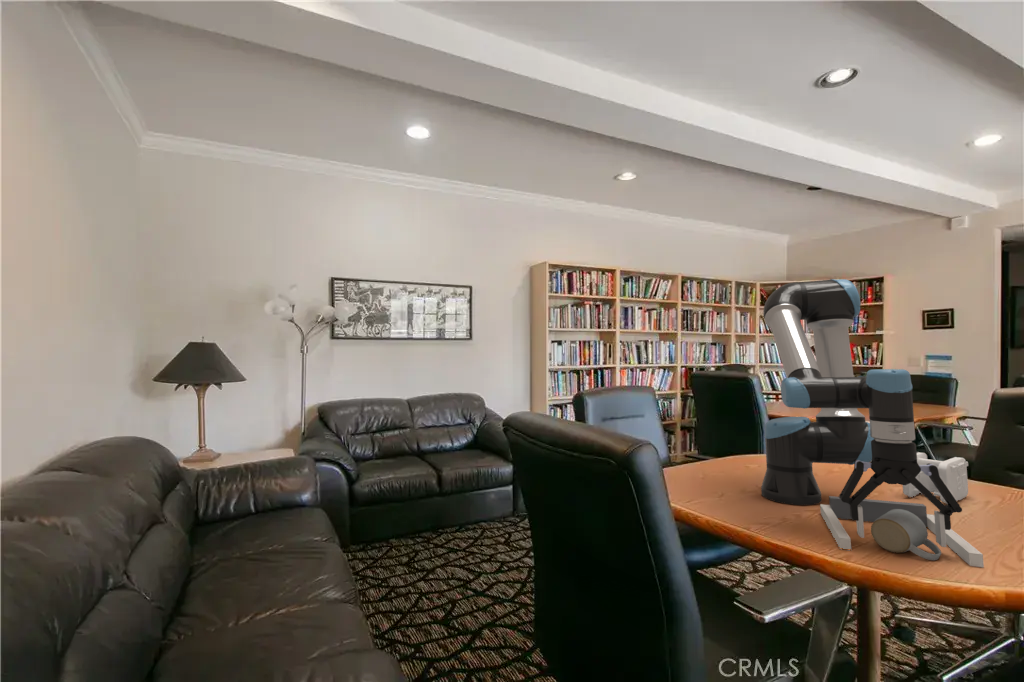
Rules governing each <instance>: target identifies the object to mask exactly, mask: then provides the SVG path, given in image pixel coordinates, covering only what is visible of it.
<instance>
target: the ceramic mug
mask: <svg viewBox="0 0 1024 682" xmlns="http://www.w3.org/2000/svg"><path fill="white" fill-rule="evenodd" d="M870 533H871V536H872V538H873V540H874V541H875V543H876V544H878V546H880V548H883V549H884V550H886V551H887V552H891V553H895V552H896V553H895V554H897V553H898V554H900V553H906V552H908V551H910V552H911V553H913V554H915V555H916V556H918V557H920V558H922V559H925V560H928V561H936V560H939V558H940V557H941V555H942V551H941V549H940V548H939V546H938V545H936V544H935V543H934V542H933V541H932V540H930V538H929V539H928V537H929V536H928V535H929V534H928V528H926V526H925V525H924V523H923V522H922V521H921V520H920V519H919V518H918V517H917V516H916V515H914V514H913V513H911V512H909V511H906V510H903V509H893V510H890V511H889V512H887V513H886V514H884V515H882V516H881V517H879V518H877V519H876V520H875V521H874V522H872V524H871V527H870ZM922 545H924V546H925V547H927V548H928V549H929V550H931V551H932V552H933V553H931V552H927V551H925V550H923V549H921V548H919V547H920V546H922Z"/></svg>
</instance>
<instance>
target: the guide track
mask: <svg viewBox="0 0 1024 682" xmlns="http://www.w3.org/2000/svg"><path fill="white" fill-rule="evenodd" d="M828 502H829V504H822V503H819V504H820V505H819V507H820V515H821V517H822V519H823V521H824V520H825V521H824V522H826V523H825V524H826V526H827V528H828V530H829V529H830V530H829V531H831V532H830V534H831V533H832V534H831V535H832V537H833V539H834V538H835V539H834V540H836V541H835V543H836V542H837V543H836V544H838V545H837V547H838V548H839V547H840V548H843V549H851V550H852V543H851V542H852V540H851V537H850V536H849V534H848V532H847V531H846V529H845V528H844V526H843V524H842V523H841V521H840V520H848V519H852V518H851V516H850V504H848V503H845V502H842V500H841V499H840V498H839V496H834V495H829V496H828ZM860 505H861V507H862V509H863V522H867V521H868V522H867V523H869V521H870V523H873V522H874V521H875V520H876V519H877V518H879V517H881V516H882V515H884V514H886V513H887V512H889V511H890V510H893V509H903V510H906V511H909V512H911V513H913V514H914V515H916V516H917V517H918V518H919V519H920V520H921V521H922V522H923V523H924V525H925V526H926V527H928V528H927V529H929V530H930V531H931V532H932V533H933V534H934V535H935V536H936V530H935V517H934V514H928V512H927V505H925V504H924V503H918V502H917V503H916V502H905V501H904V502H903V501H894V500H893V501H892V500H883V499H881V500H879V499H871V498H870V499H867V498H865V499H864V500H863V501H862V502H861V503H860ZM838 518H841V519H838ZM851 521H854V520H853V519H852V520H851ZM945 535H946V546H947V545H948V546H947V547H949V548H950V550H952V551H953V552H954V553H955V554H956V553H957V554H956V555H957V556H959V558H960V559H962V560H963V561H964V562H965V563H967V565H969V566H970V567H975V568H976V567H977V568H984V566H985V565H984V553H982V552H981V551H979V550H978V549H977V548H976V547H975V546H973V545H972V544H971V543H970V542H968V541H967V540H966V539H965V538H963V537H962V536H961V535H960V534H958V533H957V532H956V531H954V530H953V529H952V528H951V529H950V530H945ZM840 548H839V549H840Z"/></svg>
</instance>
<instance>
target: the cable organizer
mask: <svg viewBox="0 0 1024 682" xmlns="http://www.w3.org/2000/svg"><path fill="white" fill-rule="evenodd" d="M917 463H918V465H927V464H929V463H930V464H932V465H934V466H936V467H937V468H938V472H939V476H940V478H941V479H942V481H943V482H944V484H945V485H946V487H947V488H948V490H949V491H950V492H951V494H952V495H953V497H954V498H955V500H956V501H957V502H959V501H961V500H963V499H964V498H966V497H967V496H968V495H969V494H968V493H969V481H968V470H967V469H968V468H967V467H969V462H968V461H966V459H965V458H964V457H957V456H954V457H951V458H949V459H946V460H936V459H928V455H927V454H926V453H925V452H919V451H917ZM915 478H916V479H917V480H918V481H919V482H920V483H921V484H922V485H923V486H924V487H925V488H927V489H928V490H929V491H930V492H931V493H932V494H933V495H934V496H935V497H937V496H938V497H939V500H940V502H942V503H943V504H944V503H945V504H946V505H948V504H947V502H946V501H945V499H944V498H943V496H942V495H941V494H940V492H939V491H938V489H937V488H936V486H935V485H934V483H933V482H932V480H931V479H930V477H929V476H928V475H926V474H924V472H923V471H920V473H919V474H918V475H917V476H916V477H915ZM902 492H903V493H902V494H903V495H904V496H908V498H910V497H912V498H914V497H916V496H917V495H919V493H921V492H920V491H919V490H918V489H917V488H916V487H914V486H913V485H912V484H911V483H909V484H907V485H902ZM920 495H921V496H922V495H923V494H922V493H921V494H920ZM913 496H914V497H913ZM958 500H959V501H958Z"/></svg>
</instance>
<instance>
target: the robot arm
mask: <svg viewBox="0 0 1024 682" xmlns="http://www.w3.org/2000/svg"><path fill="white" fill-rule="evenodd" d="M860 313H861V298H860V294H859V291H858V289H857V287H856V285H855V284H854V283H853V282H852V281H850V280H848V279H846V278H845V279H844V278H843V279H841V278H840V279H835V278H830V279H823V280H821V279H820V280H809V281H799V282H798V281H795V282H794V281H793V282H789V283H786V284H784V285H782V286H779V287H778V288H776V289H775V290H774V291H773V292H772V293H771V294H770V295H769V296H768V297H767V300H766V301H765V303H764V305H763V313H762V314H763V318H764V322H765V324H766V326H767V327H769V328H770V329H771V332H772V335H773V338H774V342H775V344H776V348H777V351H778V354H779V358H780V361H781V364H782V366H783V370H784V373H785V376H786V377H784V378H783V379H782V380H781V383H780V394H781V399H782V402H783V404H784V405H785V407H787V408H793V409H794V408H797V409H820V411H819V412H818V413H817V414H816V415H815V421H811V420H810V418H809V417H807V416H784V417H777V418H772V419H770V420H768V421H766V422H765V424H764V441H765V442H764V443H765V458H766V459H765V460H766V471H765V474H764V477H763V479H762V483H761V487H760V488H761V491H760V492H761V496H762V497H763V498H766V499H767V500H769V501H773V502H776V503H781V504H787V505H795V506H796V505H797V506H812V505H818V504H821V502H822V501H823V500H822V491H821V489H820V487H819V485H818V482H817V480H816V477H815V476H814V471H813V463H814V464H816V463H817V464H839V465H849V466H853V471H852V472H851V474H850V476H849V477H848V479H847V481H846V482H845V485H844V486H843V488H842V489H841V492H840V494H839V496H838V497H839V498H840V499H841V500H842V502H845V503H848V504H850V516H851V518H852V519H853V520H852V521H855V522H856V533H857V535H858V537H860V538H862V539H863V538H865V528H864V527H865V526H864V521H863V509H862V507H861V505H860V503H861V502H862V501H863V500H864V499H867V497H868V496H869V495H870V494H872V492H873V491H874V490H876V489H877V488H878V486H879V487H880V486H881V485H882V484H883V483H885V484H887V485H899V486H900V485H901V486H903V485H907V484H909V483H911V484H912V485H913V486H914V487H916V488H917V489H918V490H919V491H920V492H921V493H922V495H923V496H924V497H925V498H926V499H927V500H928V501H929V502H930V503H931V504H932V505H934V507H936V508H937V509H938V510H933V515H934V517H935V530H936V535H935V541H936V543H937V545H939V546H941V547H942V548H947V545H946V535H945V530H950V529H952V523H951V516H952V515H953V514H954V513H961V512H963V508H962V507H961V505H960V504H959V502H958V501H956V500H955V498H954V497H953V495H952V494H951V492H950V491H949V490H948V488H947V487H946V485H945V484H944V482H943V481H942V479H941V478H940V476H939V472H938V468H937V467H936V466H934V465H932V464H930V463H929V464H927V465H918V463H917V453H918V451H917V444H916V443H915V441H916V430H915V419H914V418H915V417H914V416H915V415H914V399H913V384H912V379H911V378H912V377H911V374H910V372H909V370H907V369H903V368H900V369H898V368H895V369H894V368H886V369H884V368H883V369H881V368H880V369H869V370H868V371H867V372H866V375H859V376H855V375H854V369H853V368H854V367H853V359H852V351H851V345H850V344H851V343H850V333H849V327H851V325H853V323H854V321H855V320H854V318H856V317H858V316H859V314H860ZM804 320H805V323H806V327H807V328H808V329H810V330H811V331H812V332H813V333H812V334H813V340H814V341H813V342H814V352H815V354H814V352H813V351H812V348H811V345H810V343H809V340H808V337H807V336H806V333H805V330H804V327H803V324H802V323H801V321H804ZM858 409H868V416H869V417H868V418H869V422H868V421H866V416H865V415H864V414H863V413H862V412H860V411H859V410H858ZM868 469H871V471H872V472H873V473H874V474H873V475H871V477H870V478H869V479H868V481H866V482H865V483H864V484H863V485H862V486H861V487H860V488H859V489H858V490H857V491H856V492H855V493H854V490H855V489H856V488H857V486H858V484H859V483H860V480H861V478H862V477H863V475H864V472H867V471H868ZM920 471H923V472H924V474H926V475H928V476H929V477H930V479H931V480H932V482H933V483H934V485H935V486H936V488H937V489H938V491H939V492H940V494H941V495H942V496H943V498H944V499H945V501H946V502H947V504H946V505H945V504H944V502H942V501H941V500H940V499H939V498H937V496H934V495H933V494H934V493H933V492H930V491H929V490H928V489H927V488H925V487H924V486H923V485H922V484H921V483H920V482H919V481H918V480H917V479H916V478H915V477H916V476H917V475H918V474H919V473H920ZM853 493H854V494H853Z"/></svg>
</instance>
